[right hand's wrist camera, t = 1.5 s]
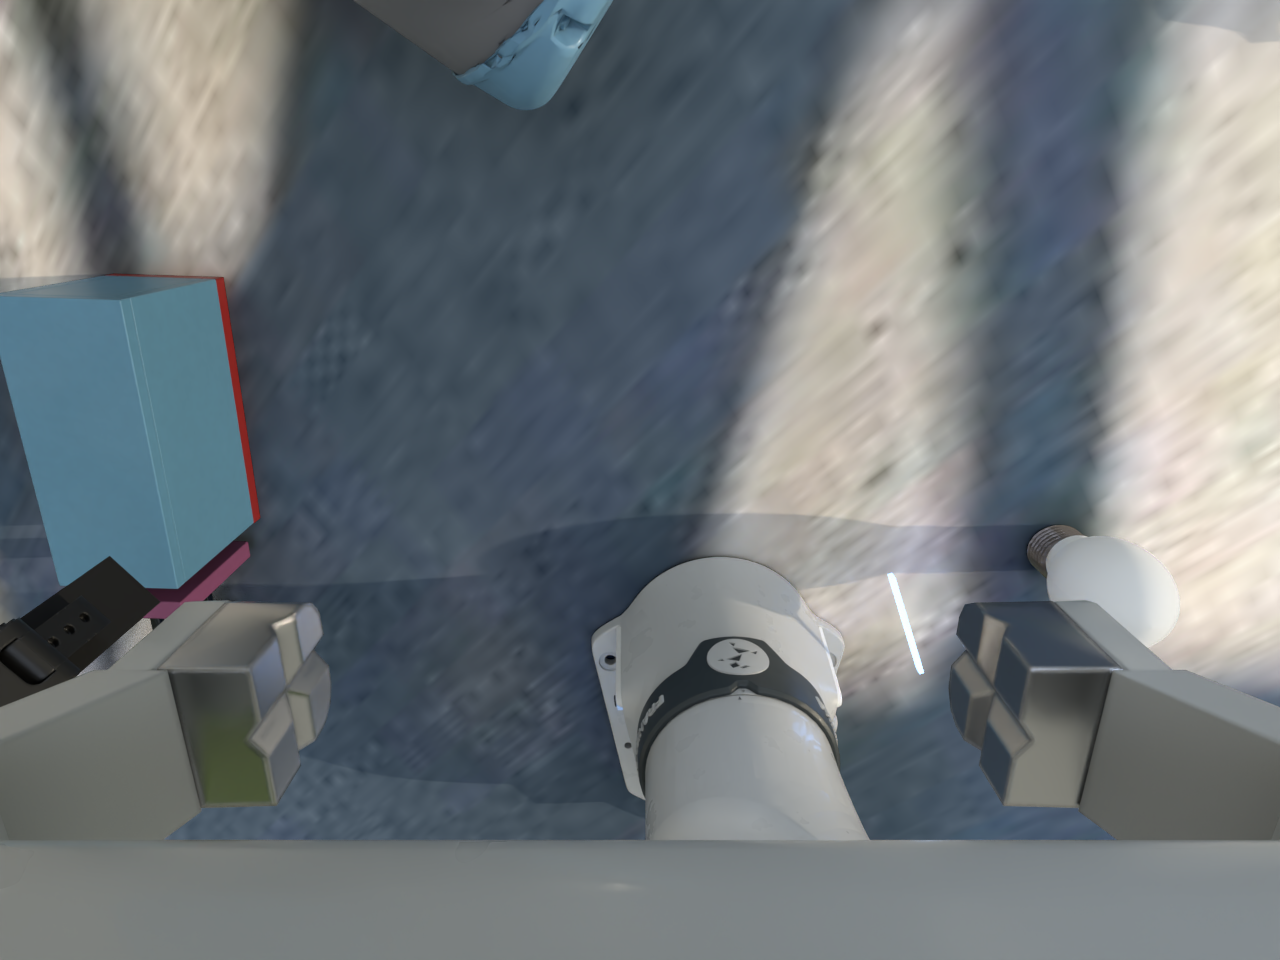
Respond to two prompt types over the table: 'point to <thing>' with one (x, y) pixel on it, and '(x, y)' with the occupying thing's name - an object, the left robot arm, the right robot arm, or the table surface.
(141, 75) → the table surface
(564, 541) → the table surface
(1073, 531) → the light bulb
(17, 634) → the left robot arm
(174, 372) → the cabinet
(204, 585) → the drawer
